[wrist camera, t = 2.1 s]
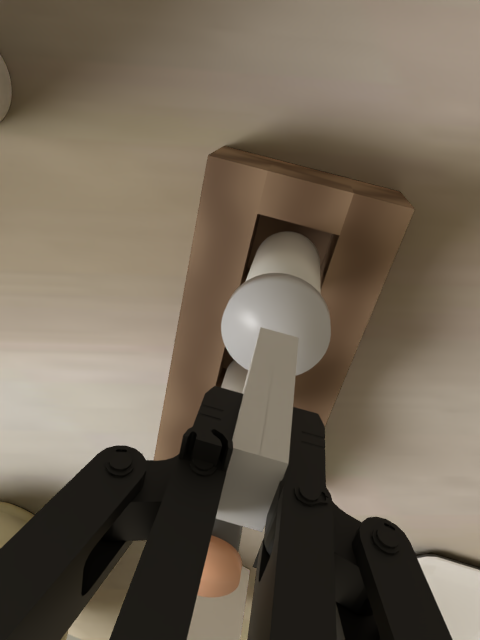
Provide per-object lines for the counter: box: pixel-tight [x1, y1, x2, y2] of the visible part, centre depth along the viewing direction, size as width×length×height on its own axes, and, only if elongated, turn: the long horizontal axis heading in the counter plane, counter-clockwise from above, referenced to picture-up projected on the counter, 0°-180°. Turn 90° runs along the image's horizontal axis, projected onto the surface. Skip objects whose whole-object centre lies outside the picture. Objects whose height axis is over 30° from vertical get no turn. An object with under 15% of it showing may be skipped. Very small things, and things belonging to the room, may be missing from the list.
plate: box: [416, 554, 480, 640], centre depth 48 cm, size 20×20×2 cm
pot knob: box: [197, 519, 243, 597], centre depth 32 cm, size 5×5×9 cm
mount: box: [154, 146, 415, 461], centre depth 34 cm, size 12×28×5 cm, turn 167°
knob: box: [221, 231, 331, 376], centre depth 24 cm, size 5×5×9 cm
